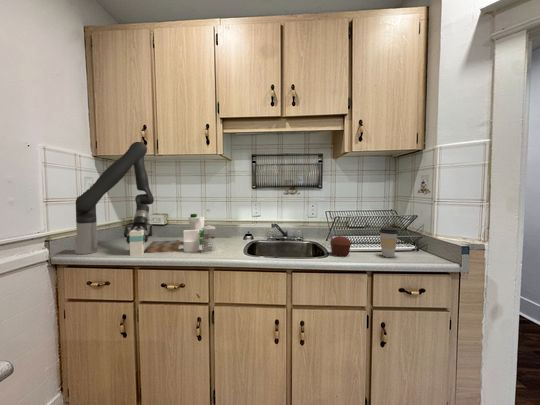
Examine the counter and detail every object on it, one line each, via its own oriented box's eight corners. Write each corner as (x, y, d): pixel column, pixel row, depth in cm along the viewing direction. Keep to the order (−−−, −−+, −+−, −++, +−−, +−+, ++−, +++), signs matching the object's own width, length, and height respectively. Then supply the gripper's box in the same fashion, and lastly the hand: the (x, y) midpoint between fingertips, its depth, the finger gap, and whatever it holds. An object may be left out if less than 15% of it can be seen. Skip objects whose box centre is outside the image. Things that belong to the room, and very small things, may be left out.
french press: (212, 254, 134) (211, 209, 133) (194, 252, 137) (193, 209, 136) (220, 250, 143) (220, 208, 142) (203, 248, 147) (203, 208, 146)
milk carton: (194, 242, 166) (193, 213, 165) (206, 242, 164) (206, 213, 163) (187, 245, 157) (186, 214, 156) (200, 245, 155) (199, 214, 155)
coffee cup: (383, 253, 138) (384, 227, 137) (400, 256, 130) (401, 229, 130) (375, 255, 132) (375, 228, 131) (392, 259, 125) (393, 230, 124)
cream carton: (129, 255, 131) (129, 230, 131) (132, 252, 137) (132, 228, 137) (142, 254, 133) (141, 229, 132) (144, 252, 139) (144, 228, 138)
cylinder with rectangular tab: (200, 248, 149) (200, 229, 148) (198, 251, 140) (198, 231, 139) (185, 248, 147) (185, 229, 147) (182, 252, 138) (182, 231, 138)
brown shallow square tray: (147, 253, 137) (147, 246, 136) (152, 246, 152) (152, 241, 152) (177, 251, 141) (177, 244, 141) (179, 245, 156) (179, 239, 156)
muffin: (326, 255, 133) (327, 237, 133) (333, 251, 142) (333, 234, 142) (348, 258, 127) (349, 239, 126) (353, 253, 136) (354, 236, 136)
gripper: (126, 215, 139) (120, 239, 129) (153, 215, 143) (149, 237, 133) (128, 223, 145) (123, 246, 134) (154, 222, 149) (151, 245, 138)
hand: (136, 242), depth 134 cm, fingers open, 8 cm apart
